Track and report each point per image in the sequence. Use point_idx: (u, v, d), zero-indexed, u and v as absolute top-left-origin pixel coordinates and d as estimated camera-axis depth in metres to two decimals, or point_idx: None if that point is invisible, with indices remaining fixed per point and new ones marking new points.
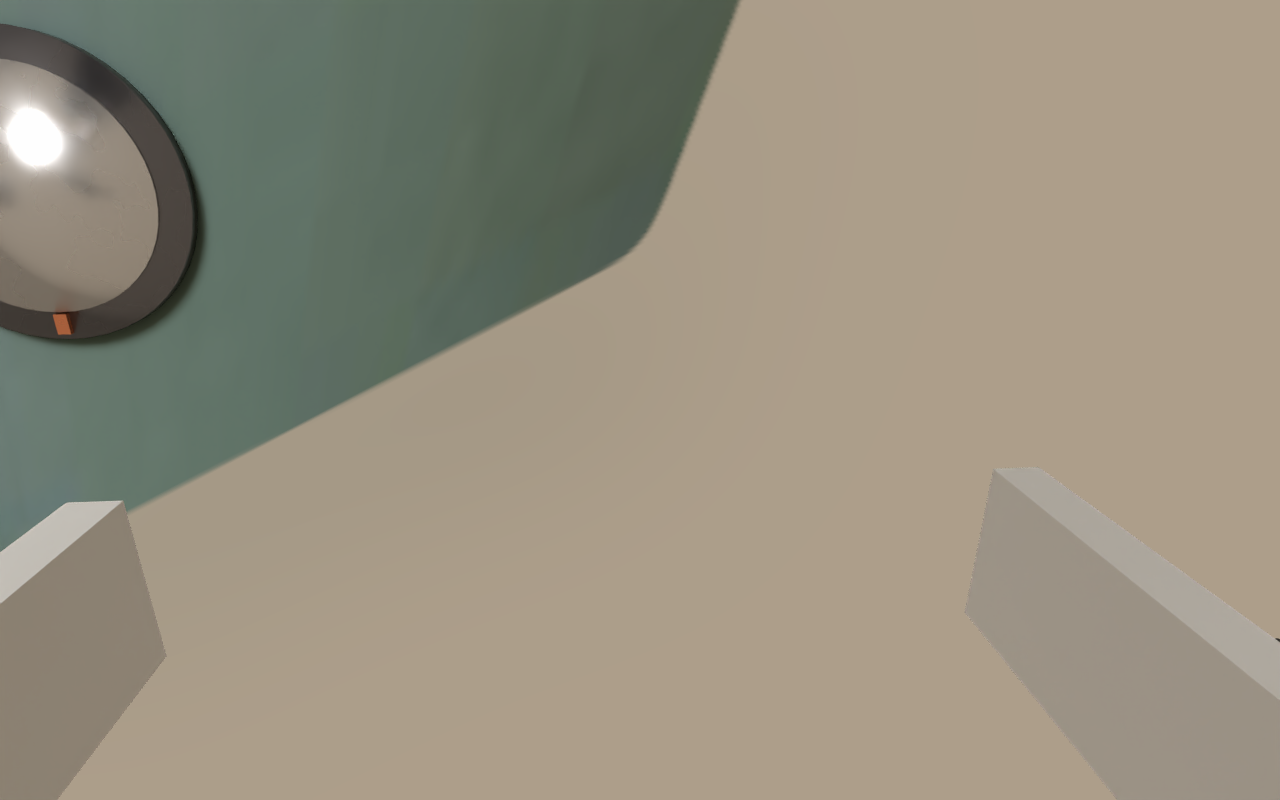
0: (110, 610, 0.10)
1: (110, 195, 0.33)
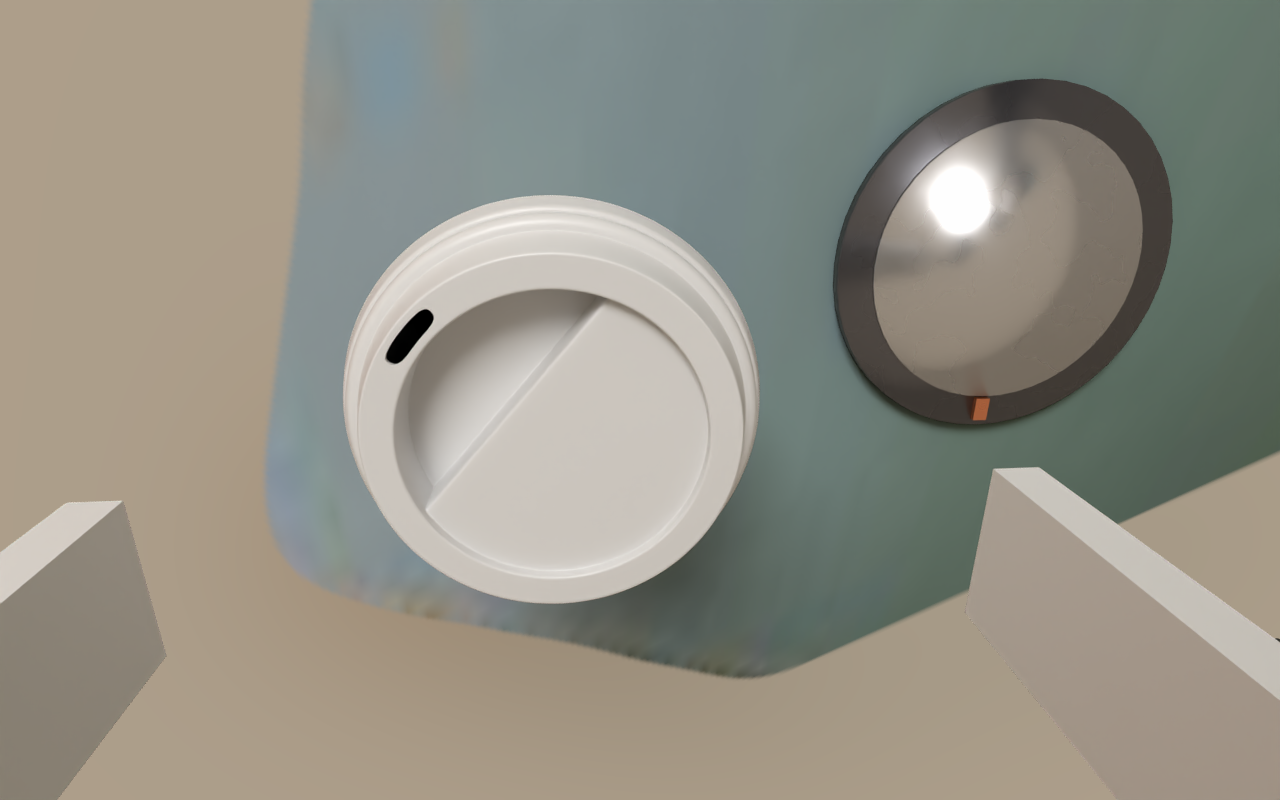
0: (110, 610, 0.10)
1: (1092, 269, 0.30)
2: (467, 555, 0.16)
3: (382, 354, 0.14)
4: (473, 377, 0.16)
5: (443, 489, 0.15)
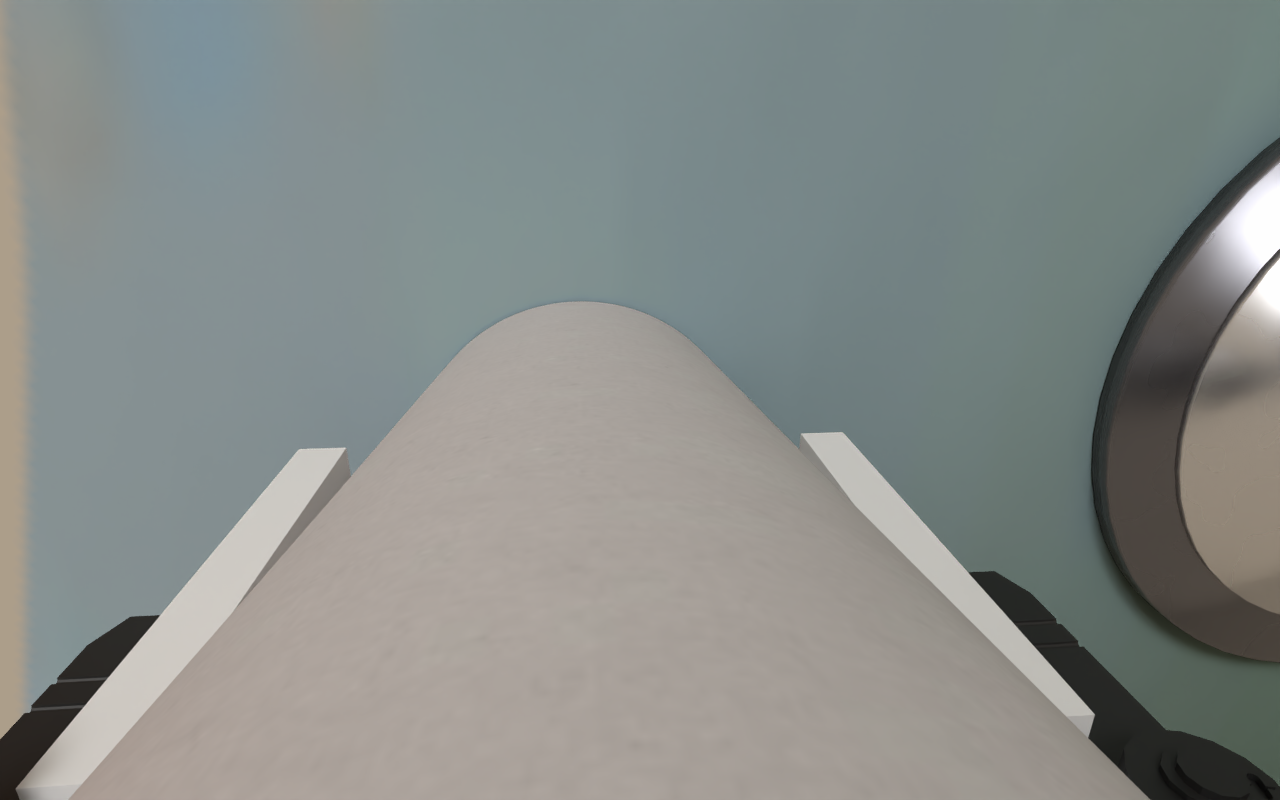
0: None
1: None
2: None
3: None
4: None
5: None
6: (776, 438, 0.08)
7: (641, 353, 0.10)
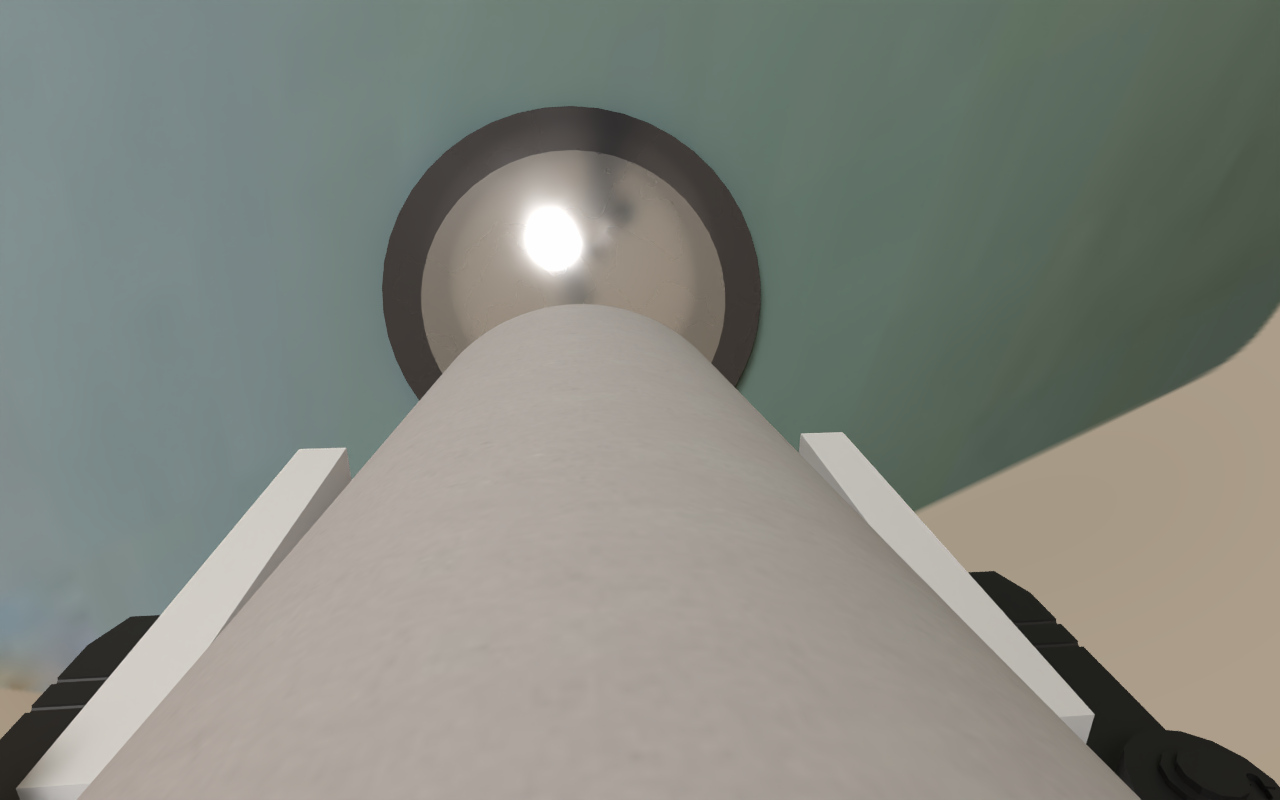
0: None
1: (673, 311, 0.27)
2: None
3: None
4: None
5: None
6: (776, 442, 0.08)
7: (641, 357, 0.10)
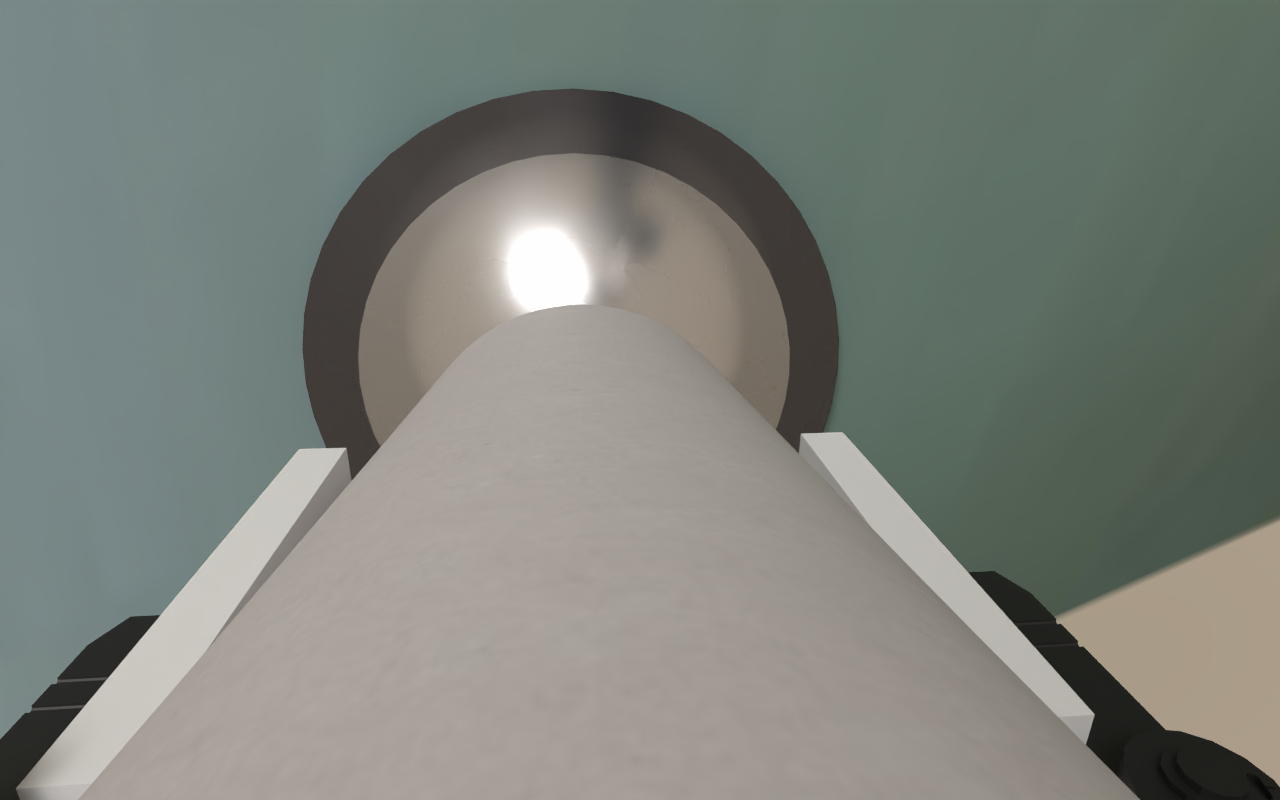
0: None
1: None
2: None
3: None
4: None
5: None
6: (776, 443, 0.08)
7: (641, 357, 0.10)
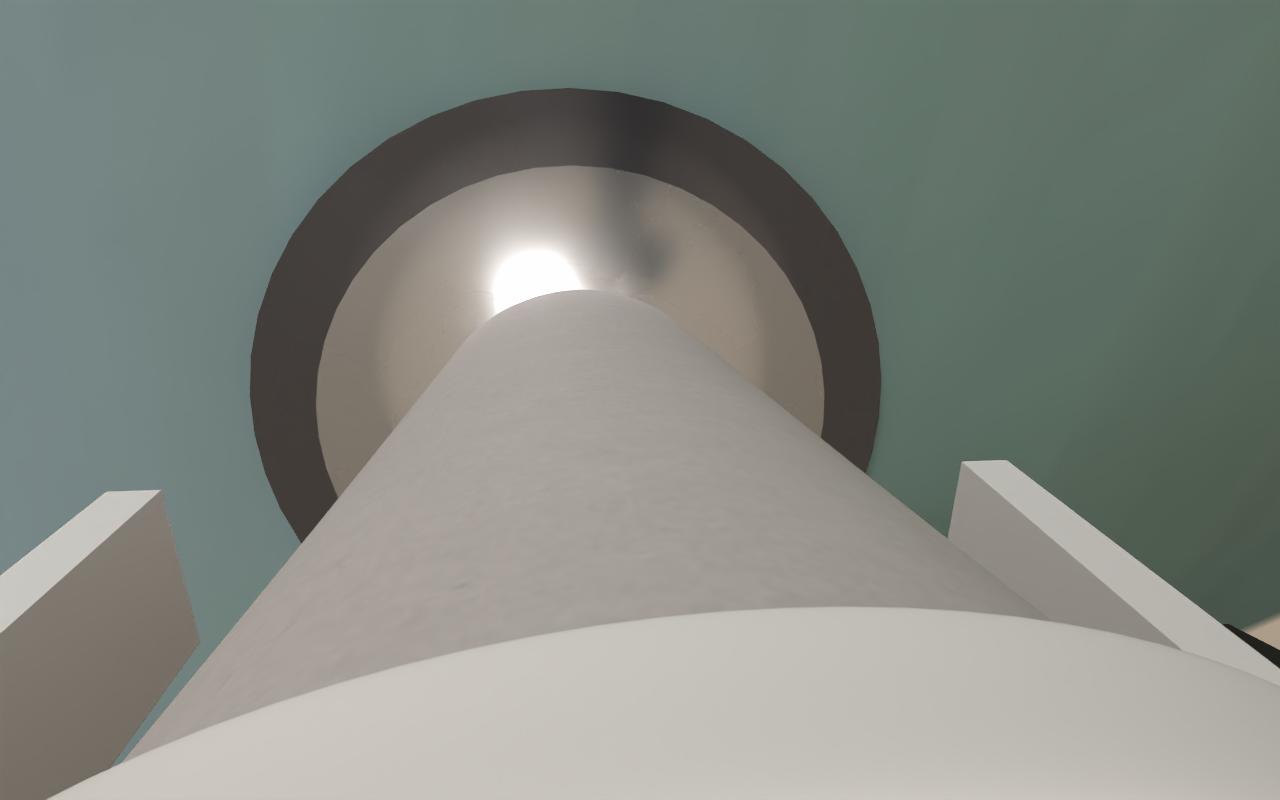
0: (150, 596, 0.10)
1: None
2: None
3: None
4: None
5: None
6: (758, 390, 0.09)
7: (638, 327, 0.11)
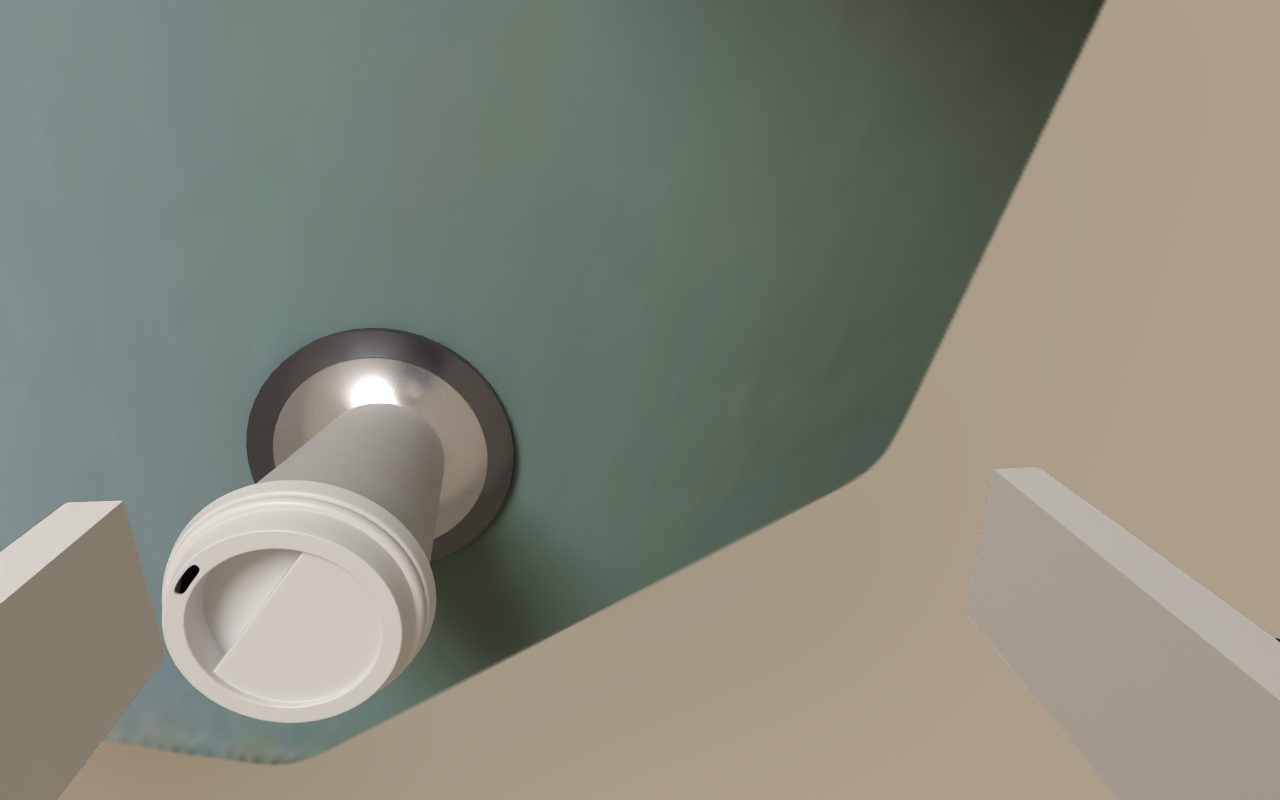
0: (110, 610, 0.10)
1: (450, 455, 0.39)
2: (240, 697, 0.26)
3: (172, 589, 0.24)
4: (242, 587, 0.26)
5: (223, 658, 0.25)
6: (387, 447, 0.32)
7: (369, 425, 0.34)
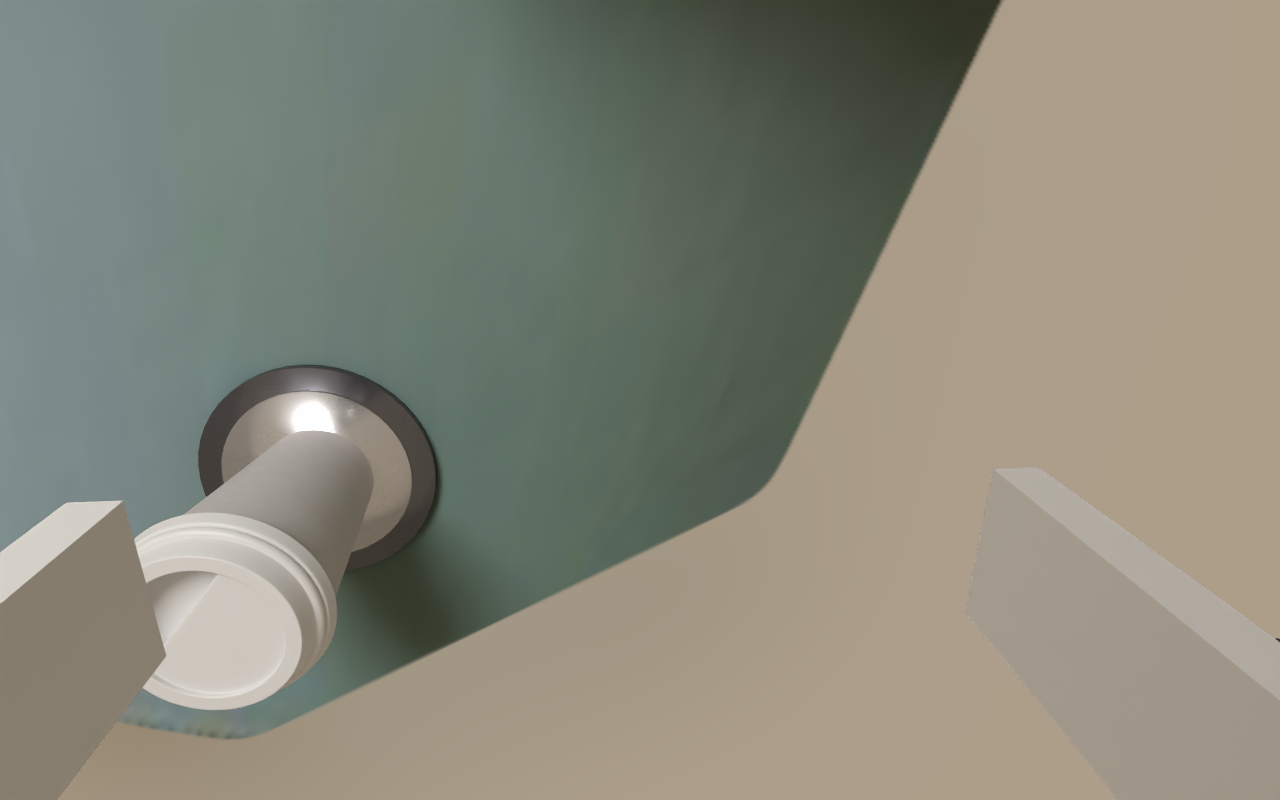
0: (110, 610, 0.10)
1: (378, 476, 0.45)
2: (169, 688, 0.31)
3: None
4: (172, 598, 0.31)
5: None
6: (310, 476, 0.38)
7: (298, 454, 0.39)
